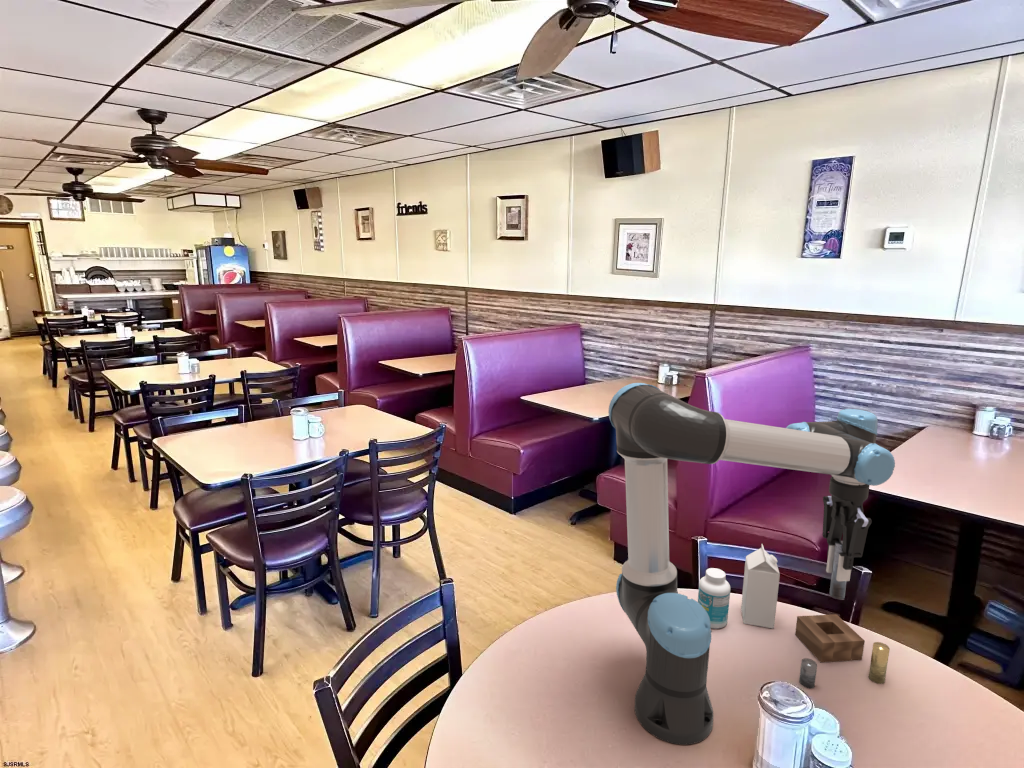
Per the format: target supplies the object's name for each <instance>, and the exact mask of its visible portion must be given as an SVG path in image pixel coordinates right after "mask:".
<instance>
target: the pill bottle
mask: <svg viewBox="0 0 1024 768" xmlns="http://www.w3.org/2000/svg"><path fill="white" fill-rule="evenodd" d="M726 575H727V574H726V572H725V571H723V570H722V569H720V568H714V567H710V568H707V569H705V576H703V577H701V578H700V579H699V582H698V595H697V602H698V603H699V604H700V605H702V607H703V608H704V609H705V610H706V612H707V614H708V616H709V618H710V623H711V629H717V630H718V629H723V628H725V627H726V626H727V624H728V620H729V609H730V608H729V607H730V597H731V585H730V583H729V582H728V581H727V579H726V578H727V577H726Z"/></svg>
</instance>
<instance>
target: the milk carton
mask: <svg viewBox="0 0 1024 768" xmlns="http://www.w3.org/2000/svg"><path fill="white" fill-rule="evenodd" d="M760 546H761V547H760V548H758V549H756V550H754V551H753V552H751V553H749V554H747V555H745V563H744V574H743V583H742V595H741V596H742V597H741V605H740V610H741V617H742V622H743V624H744V625H751V626H756V627H762V628H768V629H775V623H776V622H775V621H776V613H777V606H778V605H777V604H778V595H779V594H778V593H779V588H780V587H779V585H780V578H781V577H780V575H781V574H780V570H779V567H778V564H777V563H779V562H778V560H777V559H778V558H777V557H775V555H773V554H769V552H767V551H766V550H765V548H764V545H763V543H761V545H760Z"/></svg>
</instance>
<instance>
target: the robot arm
mask: <svg viewBox="0 0 1024 768" xmlns="http://www.w3.org/2000/svg"><path fill="white" fill-rule="evenodd" d="M608 418H609V421H610V423H611V426H612V427H613V428H614V429H615V435H616V436H615V438H616V439H615V440H616V452H617V454H618V455H620V456H621V457H622V459H624V478H625V501H626V502H625V505H626V527H627V528H626V529H627V535H626V536H627V553H628V555H627V557H628V558H627V560H625V562H624V563H623V564H622V566H621V573H620V574H619V575H618V577H617V579H616V584H615V585H616V586H615V587H616V588H615V592H616V596H617V597H616V598H617V600H618V603H619V605H620V607H621V609H622V611H623V612H624V613H625V615H626V616H627V618H628V619H629V621H630V623H631V624H632V625H633V628H634V629H635V630H636V633H637V634H638V635H639V638H640V639H641V641H642V642H643V644H644V646H645V649H646V651H645V652H646V654H645V655H646V656H645V658H646V659H645V673H644V675H643V677H642V679H641V681H640V683H639V686H638V688H637V690H636V692H635V695H634V712H635V717H636V718H637V720H638V722H639V724H640V725H641V726H642V728H644V729H645V730H646V731H647V732H648V733H650V734H651V735H653V736H654V737H655V738H657V739H659V740H661V741H663V742H667V743H670V744H675V745H685V746H686V745H693V744H696V743H699V742H702V741H704V740H705V739H707V738H708V736H709V735H710V734H711V733H712V730H713V726H714V709H713V705H712V702H711V698H710V694H709V690H708V687H707V682H708V681H707V680H708V670H709V661H710V660H709V658H710V647H711V643H712V630H711V629H712V628H711V623H710V618H709V616H708V614H707V612H706V610H705V609H704V608H703V607H702V605H700V604H699V603H698V600H695V599H694V598H688V596H687V595H685V594H682V593H679V592H678V570H677V567H676V566H675V565H674V564H673V563H672V562H671V561H670V533H669V531H670V530H669V528H670V527H669V524H670V523H669V480H668V475H669V474H668V470H669V469H668V460H673V461H680V462H681V461H682V462H688V463H698V464H705V465H706V464H707V465H714V464H716V463H718V461H726V462H733V463H743V464H749V465H756V466H763V467H772V468H778V469H779V468H780V469H787V470H793V471H794V470H795V471H802V472H808V473H810V472H811V473H817V474H823V475H824V474H825V475H830V479H829V485H828V486H829V487H828V492H829V494H830V495H826V496H825V495H824V496H823V497H822V503H823V516H822V517H823V521H822V537H823V538H824V539H826V543H827V562H826V569H825V572H826V573H827V574H832V568H833V559H834V551H835V542H836V541H843V551H842V553H839V561H838V569H837V576H836V580H837V581H846V582H850V579H851V573H852V570H853V565H854V560H855V559H854V558H862V557H863V554H864V550H865V544H866V540H867V535H868V532H869V531H868V530H869V528H870V526H871V524H872V523H873V521H872V519H871V517H866V516H865V514H864V506H863V504H864V502H865V501H866V500H868V499H869V498H868V497H869V494H870V493H869V491H870V486H879V485H882V484H884V483H886V482H887V481H888V480H889V479H891V477H892V475H893V473H894V471H895V467H896V460H895V457H894V455H893V453H892V452H891V451H890V450H889V449H886V448H884V447H883V446H881V445H878V444H877V443H876V442H877V437H878V417H877V415H876V414H875V413H872V412H870V411H867V410H863V409H854V408H845V409H844V408H843V410H839V411H838V414H837V417H836V420H831V421H811V422H808V421H807V422H806V421H802V422H796V423H795V422H794V423H790V424H789V425H787V426H786V427H780V426H773V425H767V424H762V423H753V422H746V421H740V420H739V421H738V420H733V419H726V418H725V417H724V415H722V414H721V413H719V412H717V411H711V410H706V409H703V408H699V407H697V406H694V405H691V404H689V403H687V402H685V401H683V400H681V399H679V398H677V397H675V396H673V395H671V394H669V393H667V392H665V391H664V390H661V389H660V388H659V387H657V386H655V385H653V384H647V383H644V382H632V383H629V384H627V385H626V384H625V385H624V386H622V387H621V388H620V389H618V391H617V392H616V393H615V394H614V395H613V397H612V398H611V400H610V401H609V405H608Z"/></svg>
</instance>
